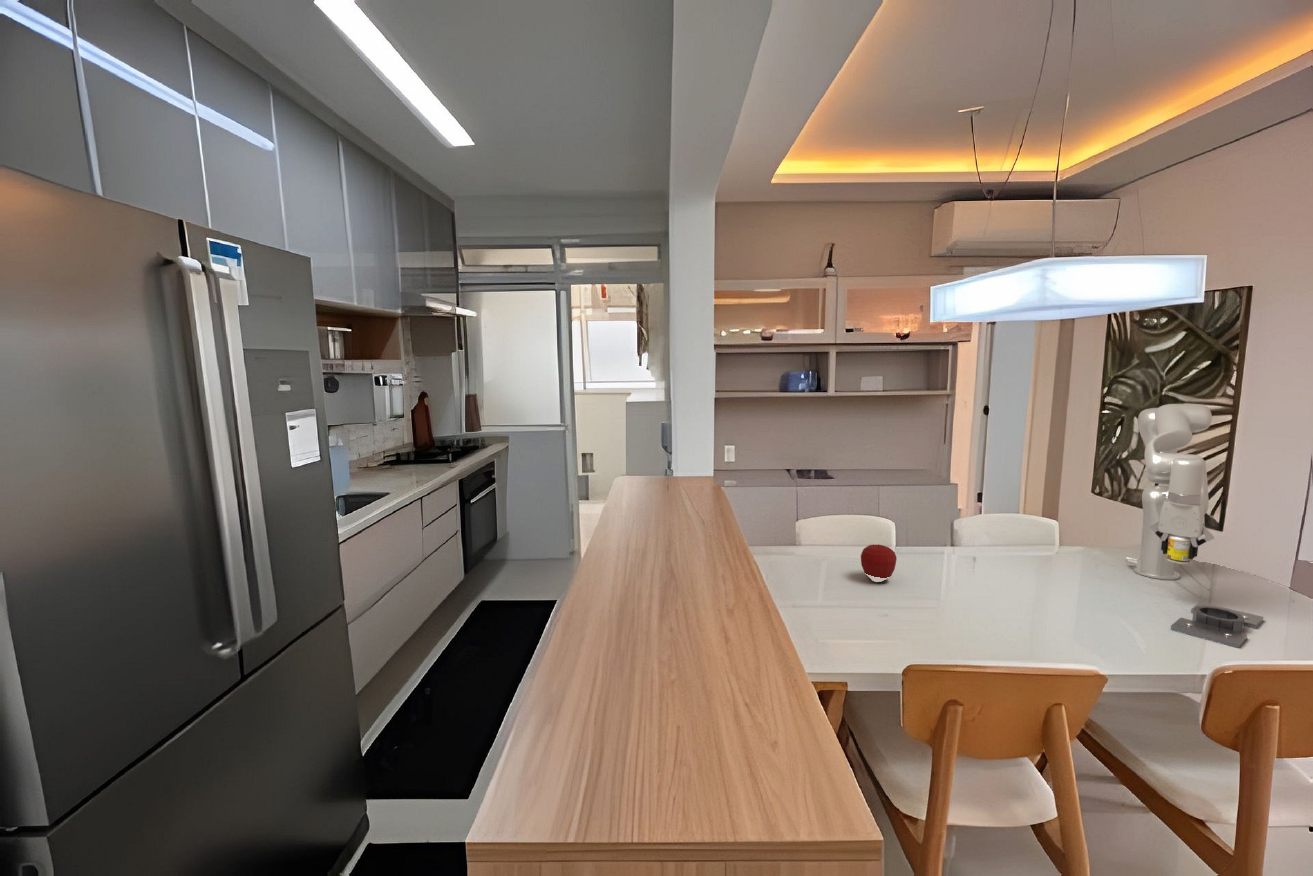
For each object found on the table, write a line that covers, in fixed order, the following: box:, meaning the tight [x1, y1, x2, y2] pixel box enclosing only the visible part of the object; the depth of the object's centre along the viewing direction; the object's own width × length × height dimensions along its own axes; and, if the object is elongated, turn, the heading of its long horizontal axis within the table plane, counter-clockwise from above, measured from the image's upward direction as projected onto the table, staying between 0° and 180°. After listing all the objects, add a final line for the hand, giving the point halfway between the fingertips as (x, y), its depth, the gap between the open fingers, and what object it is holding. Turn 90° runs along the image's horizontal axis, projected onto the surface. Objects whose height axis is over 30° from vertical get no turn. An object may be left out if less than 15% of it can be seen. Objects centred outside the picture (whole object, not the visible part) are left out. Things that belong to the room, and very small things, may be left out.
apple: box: [860, 543, 898, 578], centre depth 210 cm, size 12×12×13 cm
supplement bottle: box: [1167, 534, 1192, 565], centre depth 185 cm, size 6×6×10 cm
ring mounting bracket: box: [1170, 601, 1264, 649], centre depth 171 cm, size 28×14×4 cm, turn 126°
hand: (1178, 555), depth 186 cm, fingers closed on supplement bottle, 5 cm apart
